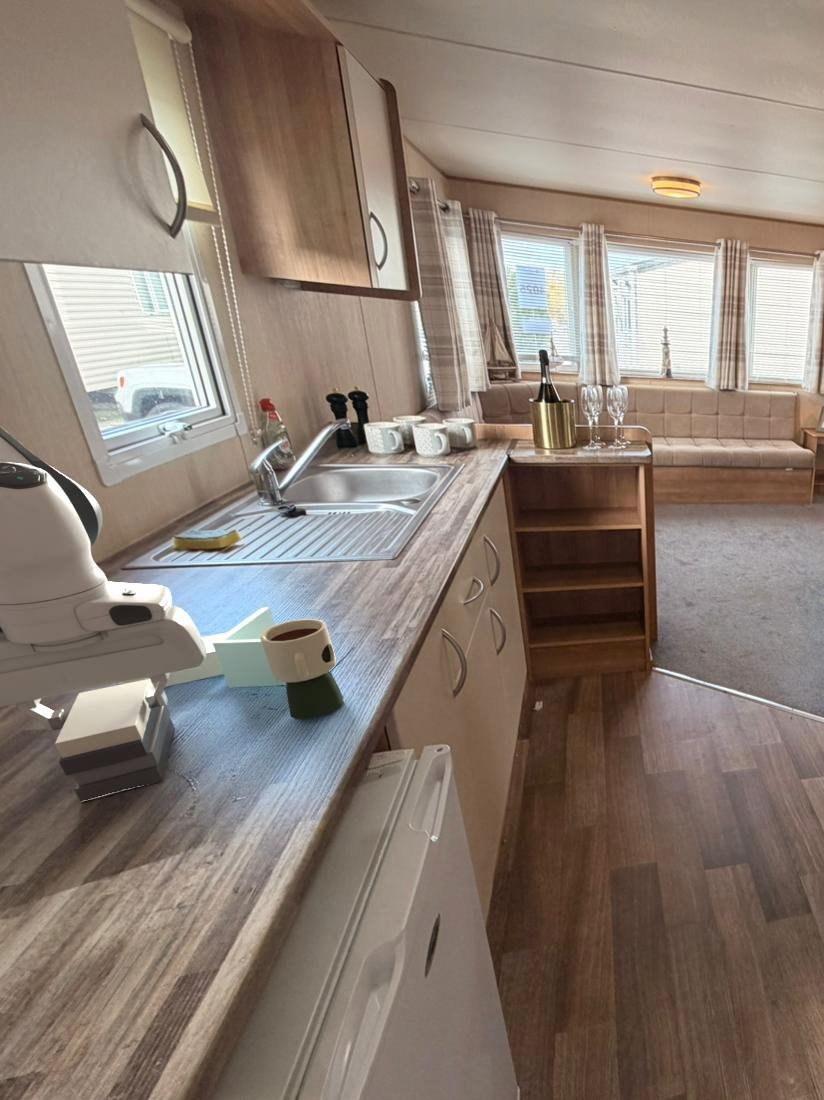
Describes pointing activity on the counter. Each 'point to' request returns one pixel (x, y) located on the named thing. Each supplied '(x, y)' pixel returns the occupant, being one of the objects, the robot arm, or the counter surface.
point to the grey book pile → (124, 760)
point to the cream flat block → (105, 718)
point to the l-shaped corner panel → (246, 652)
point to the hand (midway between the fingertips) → (110, 715)
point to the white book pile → (205, 670)
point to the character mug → (304, 666)
